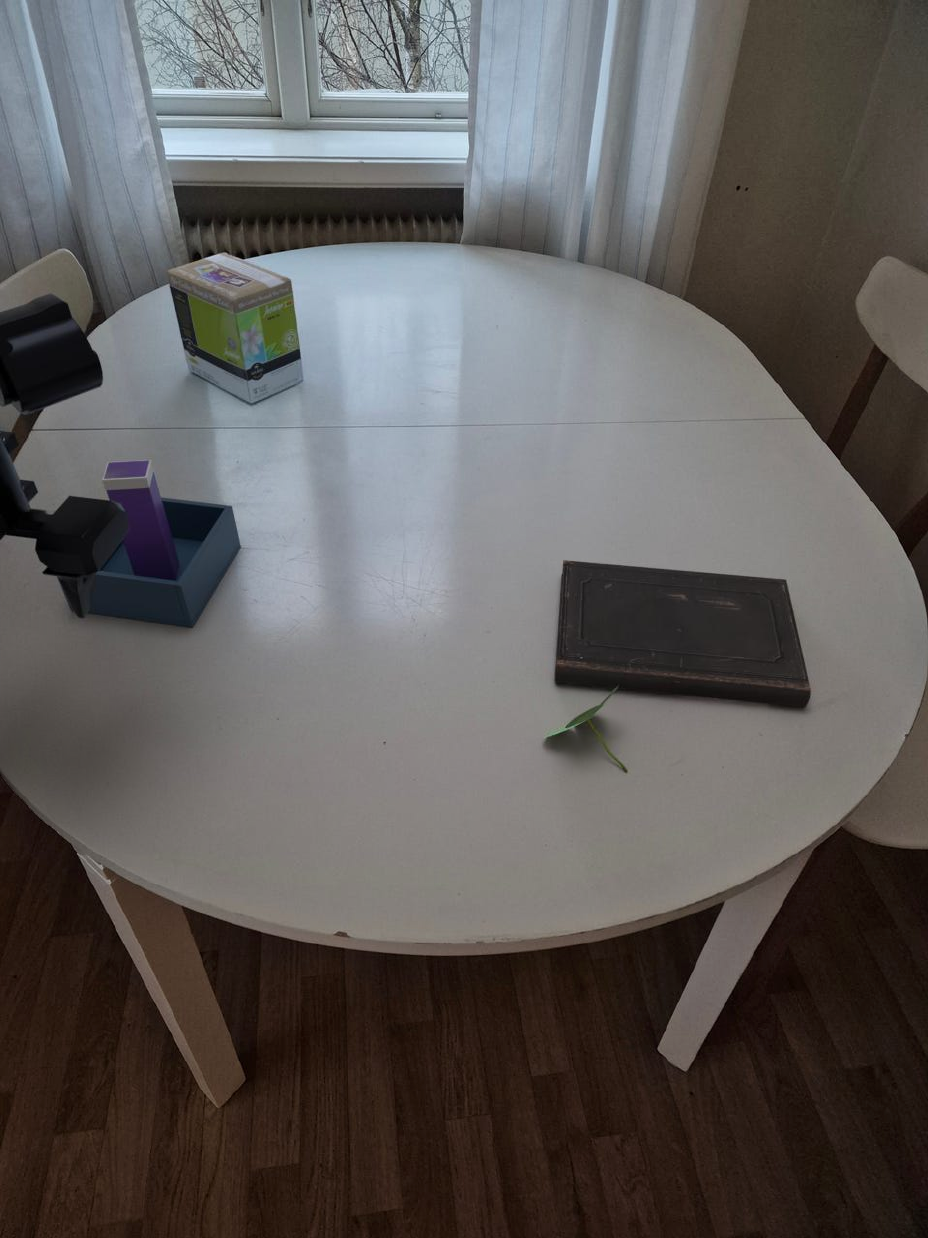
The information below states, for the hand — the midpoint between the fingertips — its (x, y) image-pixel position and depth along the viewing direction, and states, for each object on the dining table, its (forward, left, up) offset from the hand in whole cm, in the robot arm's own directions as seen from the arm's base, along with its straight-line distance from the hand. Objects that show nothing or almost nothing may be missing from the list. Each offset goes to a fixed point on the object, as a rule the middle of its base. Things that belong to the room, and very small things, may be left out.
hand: (31, 607), depth 69 cm
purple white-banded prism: (-1, +19, -12) cm, 23 cm away
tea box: (-8, +63, -13) cm, 65 cm away
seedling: (+45, +5, -13) cm, 47 cm away
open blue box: (-1, +19, -13) cm, 23 cm away
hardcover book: (+53, +20, -13) cm, 58 cm away
